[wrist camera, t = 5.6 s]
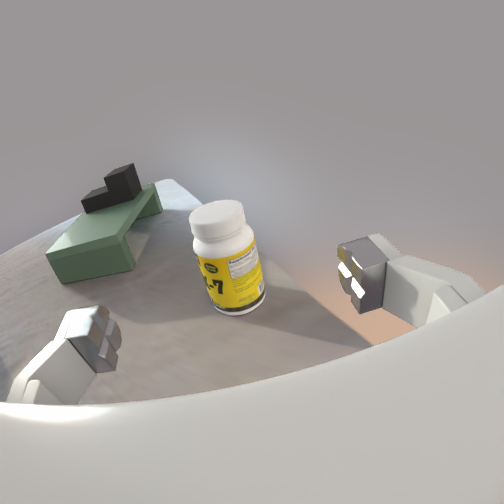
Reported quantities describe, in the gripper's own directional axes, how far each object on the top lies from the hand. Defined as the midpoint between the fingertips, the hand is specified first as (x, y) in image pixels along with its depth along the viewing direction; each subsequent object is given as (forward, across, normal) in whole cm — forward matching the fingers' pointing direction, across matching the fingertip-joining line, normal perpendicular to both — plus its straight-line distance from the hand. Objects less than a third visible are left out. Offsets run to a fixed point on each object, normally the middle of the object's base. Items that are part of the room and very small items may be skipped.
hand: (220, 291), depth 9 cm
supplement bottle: (+12, 0, +11) cm, 16 cm away
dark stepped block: (+36, +17, +5) cm, 40 cm away
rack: (+31, +17, +10) cm, 37 cm away
